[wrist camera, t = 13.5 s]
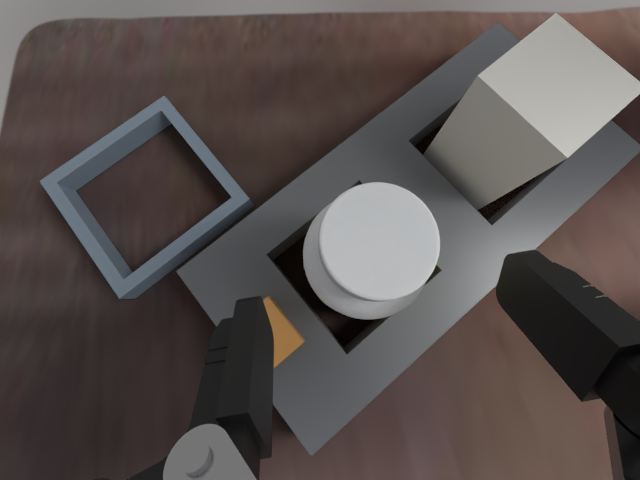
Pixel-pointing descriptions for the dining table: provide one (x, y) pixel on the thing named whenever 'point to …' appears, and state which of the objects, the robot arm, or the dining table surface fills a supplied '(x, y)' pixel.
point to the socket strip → (431, 207)
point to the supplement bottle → (371, 250)
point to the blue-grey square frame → (107, 154)
